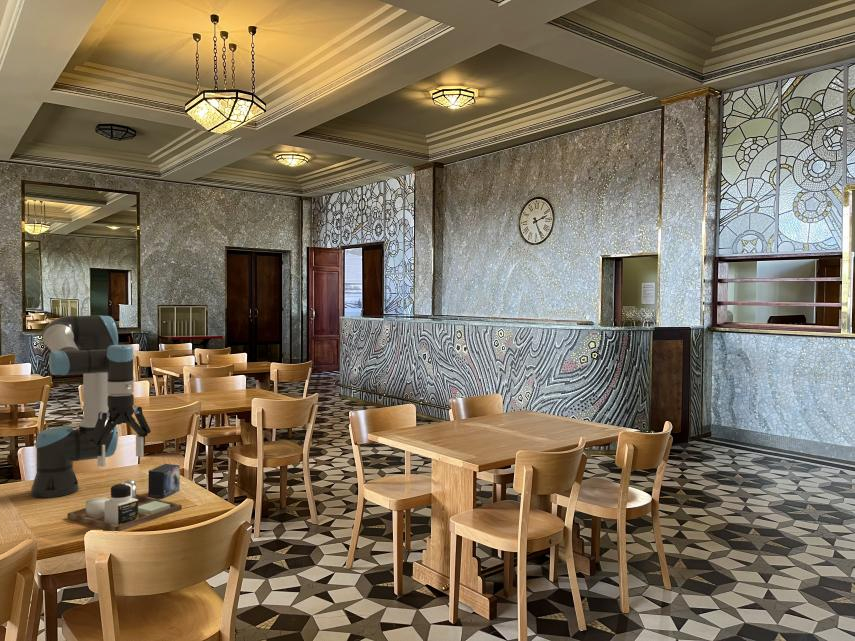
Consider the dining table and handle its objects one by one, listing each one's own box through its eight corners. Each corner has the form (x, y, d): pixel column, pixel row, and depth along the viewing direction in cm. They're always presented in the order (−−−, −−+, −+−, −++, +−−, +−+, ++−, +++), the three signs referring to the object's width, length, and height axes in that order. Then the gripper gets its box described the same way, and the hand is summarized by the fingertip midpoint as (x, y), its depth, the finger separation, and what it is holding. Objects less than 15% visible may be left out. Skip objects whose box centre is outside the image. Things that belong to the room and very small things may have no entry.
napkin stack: (135, 513, 217) (135, 507, 217) (155, 506, 224) (155, 500, 224) (151, 517, 214) (151, 510, 214) (170, 510, 220) (170, 504, 220)
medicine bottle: (118, 527, 204) (118, 489, 203) (104, 523, 207) (103, 485, 207) (138, 521, 210) (138, 483, 209) (124, 517, 213) (124, 480, 213)
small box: (163, 501, 232) (163, 472, 232) (147, 499, 234) (147, 470, 233) (180, 492, 243) (180, 464, 242) (164, 491, 244) (164, 463, 244)
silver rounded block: (81, 517, 213) (81, 501, 213) (101, 511, 219) (100, 496, 219) (94, 521, 209) (94, 505, 209) (114, 514, 216) (114, 499, 215)
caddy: (67, 520, 212) (67, 513, 212) (133, 500, 233) (133, 493, 233) (116, 534, 200) (116, 527, 200) (181, 511, 221) (181, 504, 221)
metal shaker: (120, 506, 224) (120, 480, 223) (131, 503, 227) (130, 477, 227) (128, 508, 222) (128, 482, 221) (138, 505, 225) (138, 479, 225)
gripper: (91, 400, 194) (91, 471, 195) (161, 390, 216) (162, 454, 217) (75, 398, 198) (76, 468, 199) (146, 388, 220) (146, 451, 220)
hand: (121, 461), depth 208 cm, fingers open, 13 cm apart
